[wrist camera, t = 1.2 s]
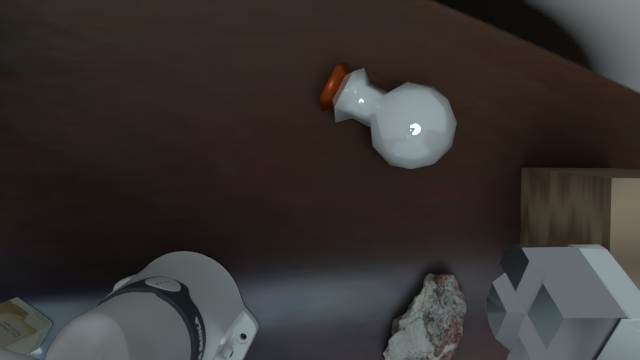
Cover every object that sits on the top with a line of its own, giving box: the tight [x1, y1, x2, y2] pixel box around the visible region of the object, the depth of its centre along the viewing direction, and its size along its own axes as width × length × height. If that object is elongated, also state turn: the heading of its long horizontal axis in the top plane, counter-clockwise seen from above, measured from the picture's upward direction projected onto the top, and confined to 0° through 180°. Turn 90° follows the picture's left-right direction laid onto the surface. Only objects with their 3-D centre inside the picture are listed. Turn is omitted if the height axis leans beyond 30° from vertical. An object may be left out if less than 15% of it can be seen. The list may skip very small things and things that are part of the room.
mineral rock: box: [383, 273, 467, 360], centre depth 66 cm, size 15×8×4 cm, turn 145°
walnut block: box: [520, 168, 640, 291], centre depth 52 cm, size 14×10×26 cm
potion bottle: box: [320, 63, 457, 169], centre depth 63 cm, size 9×10×15 cm
